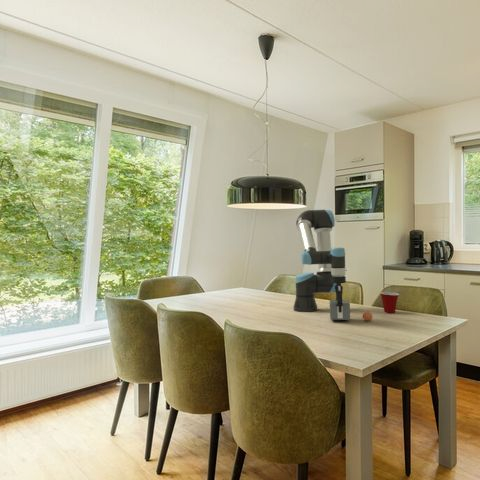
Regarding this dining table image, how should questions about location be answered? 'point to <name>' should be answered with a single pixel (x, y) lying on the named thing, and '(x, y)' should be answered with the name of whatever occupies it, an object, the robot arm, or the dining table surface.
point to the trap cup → (334, 310)
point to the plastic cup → (389, 301)
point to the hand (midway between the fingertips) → (339, 316)
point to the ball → (367, 316)
